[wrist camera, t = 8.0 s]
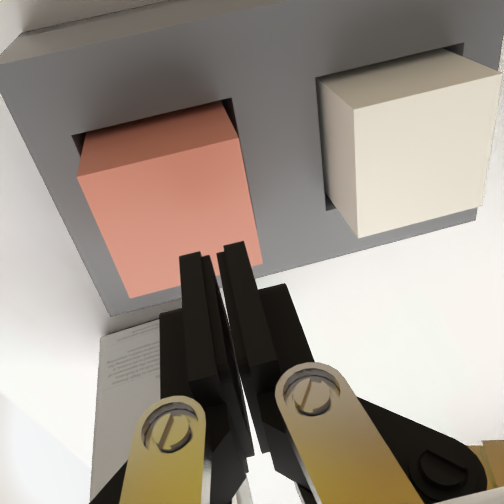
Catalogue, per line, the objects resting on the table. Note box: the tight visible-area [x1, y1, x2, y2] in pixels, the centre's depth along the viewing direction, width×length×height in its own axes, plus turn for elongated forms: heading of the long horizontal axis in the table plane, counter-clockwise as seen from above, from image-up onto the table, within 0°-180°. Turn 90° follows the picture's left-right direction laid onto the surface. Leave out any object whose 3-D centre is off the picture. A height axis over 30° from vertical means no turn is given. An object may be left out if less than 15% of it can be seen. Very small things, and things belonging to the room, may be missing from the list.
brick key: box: [77, 100, 263, 298], centre depth 16 cm, size 5×5×4 cm
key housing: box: [0, 0, 504, 317], centre depth 19 cm, size 16×10×5 cm, turn 99°
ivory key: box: [315, 48, 503, 238], centre depth 17 cm, size 5×5×4 cm
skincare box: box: [90, 319, 253, 504], centre depth 23 cm, size 6×4×12 cm
